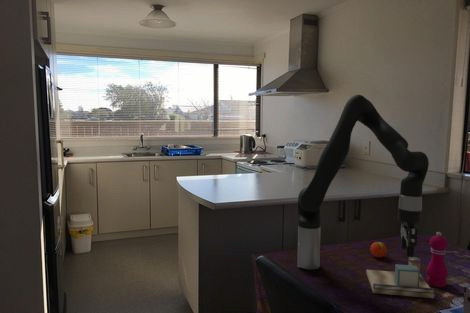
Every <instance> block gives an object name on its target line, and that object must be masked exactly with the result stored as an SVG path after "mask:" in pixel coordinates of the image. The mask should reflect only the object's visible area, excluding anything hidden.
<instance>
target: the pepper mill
mask: <svg viewBox="0 0 470 313" xmlns="http://www.w3.org/2000/svg"><path fill="white" fill-rule="evenodd" d="M448 244H449V243H448V240H447V239H446V237H444V236H442V232H440V231H437V232H436V234H435V235H433V236H432V237H430V238H429V245H430V253H431V260H430V262H429V263H428V265H427V267H426V275H427V278H426V283H427V284H428V285H429V286H433V287H436V288H444V287H446V285H447V280H446V279H447V278H448V276H449V272H448V268H447V266H446V263H445V260H444V259H445V255H446V251H447V250H446V248H448Z"/></svg>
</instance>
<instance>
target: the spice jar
mask: <svg viewBox="0 0 470 313" xmlns="http://www.w3.org/2000/svg"><path fill="white" fill-rule="evenodd" d="M407 259H408V260H407V261H408V265H412V266H417V268H418V269H419V270H420V271H421V259H420V258H419V257H416V256H413V257H408V258H407Z"/></svg>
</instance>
